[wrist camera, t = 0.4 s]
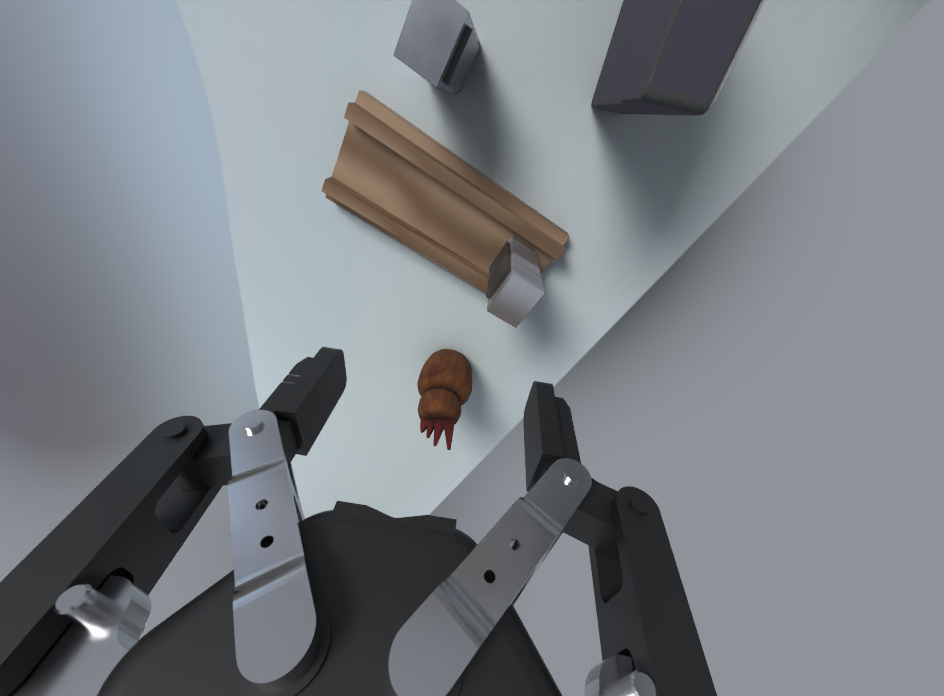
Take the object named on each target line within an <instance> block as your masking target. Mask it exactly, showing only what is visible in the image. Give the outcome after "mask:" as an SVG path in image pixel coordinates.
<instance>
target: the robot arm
mask: <svg viewBox="0 0 944 696" xmlns="http://www.w3.org/2000/svg"><path fill="white" fill-rule="evenodd" d="M346 380H347V377H346V369H345V361H344V353H343V351H342V350H340V349H333V348H327V347H322V348H321V349H320V350H319V351H318V353H317V354H316V355H315V357H314V358H311V357H307V358H305V359H304V360H302V361H301V362H299V363H297V364H296V365H295V366H294V368H293V369H292V370H291V371H290V372H289V375H287V376H286V377H285V378H284V380H283V382H281V383H280V385H279V386H278V387H277V388H276V389H275V391H274V392H273V393H272V394H271V396H270V397H269V398H268V399H267V400H266V402H265V403H264V404H263V405H262V406H261V408H260V409H259V410H255V411H251V412H247V413H245V414H243V415H241V416H240V417H238V418H237V419H236V420H235V421H234V422H233V423H230V424H221V425H212V426H204V425H203V423H202V421H201V420H200V419H199V418H197V417H194V416H181V417H176V418H173V419H170V420H168V421H166V422H164V423H162V424H160V425H159V426H158V427H156V428H155V429H154V430H153V431H152V432H151V433H150V434H149V435H148V436H147V437H146V438H145V439H144V440H143V441H142V442H141V443H140V444H139V445H138V446H137V447H136V448H135V449H134V450H133V451H132V452H131V453H130V454H129V455H128V456H127V457H126V458H125V459H124V460H123V461H122V462H121V463H120V464H119V465H118V466H117V467H116V468H115V469H114V470H113V471H112V472H111V473H110V474H109V475H108V476H107V477H106V478H105V479H104V480H103V481H102V482H101V483H100V484H99V485H98V486H97V487H96V488H95V489H94V490H93V491H92V492H91V493H90V494H89V495H88V496H87V497H86V498H85V499H84V500H83V501H82V502H81V503H80V504H79V505H78V506H77V507H76V508H75V509H74V510H73V511H72V512H71V513H70V514H69V515H68V516H67V517H66V518H65V519H64V520H63V521H62V522H61V523H60V524H59V525H58V526H57V527H56V528H55V529H54V530H53V531H52V532H51V533H49V535H47V537H46V538H44V540H42V542H40V543H39V544H38V545H37V546H36V548H34V549H33V551H32V552H30V553H29V555H27V556H26V558H25V559H24V560H22V561H21V562H20V563H19V564H18V565H17V566H16V567H15V568H14V569H13V570H12V571H11V572H10V573H9V574H8V575H7V576H6V577H5V578H4V579H3V581H1V582H0V696H562V694H561V692H560V690H559V689H558V687H557V685H556V683H555V681H554V679H553V678H552V676H551V674H550V672H549V670H548V668H547V667H546V665H545V663H544V661H543V659H542V658H541V656H540V654H539V652H538V650H537V649H536V647H535V645H534V643H533V641H532V639H531V638H530V636H529V634H528V632H527V630H526V628H525V627H524V625H523V623H522V621H521V619H520V617H519V616H518V614H517V612H516V610H515V609H514V604H515V603H516V601H517V600H518V598H519V597H520V595H521V594H522V592H523V591H524V589H525V588H526V586H527V585H528V583H529V582H530V580H531V579H532V577H533V576H534V574H535V573H536V571H537V570H538V568H539V567H540V565H541V564H542V562H543V561H544V559H545V558H546V556H547V555H548V554H549V552H550V550H551V549H552V547H553V546H554V545H555V543H556V542H557V540H558V539H559V537H560V536H561V534H562V533H563V532H564V533H566V534H568V535H570V536H572V537H574V538H576V539H578V540H580V541H581V542H583V543H585V544H587V545H589V553H590V562H591V570H592V577H593V586H594V594H595V602H596V611H597V618H598V627H599V634H600V643H601V651H602V660H603V661H602V662H601V663H599V664H598V665H596V666H595V667H593V668H592V669H591V671H590V672H589V673H588V675H587V678H586V682H585V696H717V694H716V691H715V688H714V684H713V681H712V678H711V675H710V672H709V668H708V665H707V662H706V659H705V656H704V652H703V649H702V646H701V643H700V639H699V636H698V633H697V629H696V627H695V623H694V620H693V617H692V613H691V610H690V607H689V604H688V600H687V597H686V594H685V591H684V588H683V584H682V581H681V578H680V575H679V571H678V568H677V565H676V562H675V558H674V555H673V552H672V549H671V546H670V542H669V539H668V536H667V533H666V530H665V526H664V523H663V520H662V517H661V513H660V511H659V508H658V506H657V504H656V503H655V501H654V500H653V499H652V498H651V497H650V496H649V495H648V494H647V493H645V492H644V491H642V490H640V489H638V488H635V487H623V488H621V489H620V490H619V491H616V490H614V489H611V488H609V487H607V486H605V485H603V484H601V483H599V482H597V481H595V480H594V479H593V478H591V476H590V474H589V472H588V471H587V469H586V468H585V467H584V466H583V465H582V464H581V461H580V456H579V451H578V446H577V441H576V436H575V431H574V426H573V421H572V416H571V411H570V408H569V406H568V405H567V403H566V402H565V400H564V399H563V398H558V397H555V396H554V389H553V385H552V384H549V383H543V382H537V381H534V382H533V385H532V388H531V391H530V394H529V397H528V400H527V403H526V406H525V411H524V443H525V466H526V489H527V492H528V493H527V494H526V495H525V497H523V498H522V497H520V498H519V499H518V500H517V501H516V502H515V503H514V504H513V505H512V506H511V507H510V508H509V510H508V511H507V512H506V513H505V514H504V515H503V516H502V517H501V519H500V520H499V521H498V522H497V523H496V524H495V525H494V527H493V528H492V529H491V530H490V531H489V533H488V534H487V535H486V536H485V537H484V538H483V539H482V540H481V541H480V543H479V544H478V545H477V544H476V542H474V540H472V539H471V538H470V537H469V536H468V535H466V534H465V533H463V532H462V531H460V530H457V529H455V528H456V519H449V518H443V517H437V516H430V515H423V516H413V517H404V518H393V517H391V516H388V515H386V514H384V513H382V512H380V511H378V510H375V509H373V508H371V507H369V506H367V505H361V504H354V503H348V502H342V501H337V502H336V505H335V507H334V509H333V510H330V511H325V512H321V513H318V514H315V515H313V516H310V517H308V518H306V519H305V518H304V515H303V511H302V508H301V504H300V499H299V495H298V491H297V486H296V482H295V478H294V473H293V469H292V465H291V461H292V459H293V458H294V456H295V454H299V455H305V456H307V454H308V452H309V450H310V449H311V447H312V445H313V444H314V442H315V440H316V438H317V437H318V435H319V433H320V431H321V430H322V428H323V426H324V425H325V423H326V421H327V419H328V418H329V416H330V414H331V412H332V411H333V409H334V407H335V406H336V404H337V402H338V400H339V399H340V397H341V395H342V393H343V392H344V389H345V386H346ZM223 485H228V492H229V508H230V522H231V536H232V550H233V564H234V570H233V571H231V572H230V573H229V574H227V575H226V576H225V577H223V578H222V579H220V580H219V581H218V582H216V583H215V584H214V585H212V586H211V587H209V588H208V589H207V590H206V591H204V592H203V593H201V594H200V595H199V596H197V597H196V598H195V599H193V600H192V601H190V602H189V603H188V604H186V605H185V606H183V607H182V608H181V609H179V610H178V611H177V612H175V613H174V614H172V615H171V616H170V617H168V618H167V619H166V620H164V621H163V622H161V623H160V624H159V625H157V626H156V627H155V628H153V629H152V630H151V631H149V632H148V633H147V634H146V635H144V636H143V637H142V638H141V639H140V640H139V638H140V636H141V634H142V633H143V631H144V628H145V623H146V621H147V619H148V617H149V614H150V611H151V600H150V598H149V596H148V595H149V593H150V592H151V590H152V589H153V587H154V586H155V584H156V583H157V581H158V580H159V579H160V577H161V576H162V574H163V573H164V571H165V569H166V568H167V567H168V565H169V564H170V562H171V561H172V559H173V558H174V556H175V555H176V553H177V552H178V551H179V549H180V548H181V546H182V545H183V543H184V542H185V540H186V539H187V537H188V536H189V534H190V533H191V531H192V530H193V529H194V527H195V526H196V524H197V523H198V521H199V519H200V518H201V517H202V515H203V514H204V512H205V511H206V509H207V508H208V506H209V505H210V504H211V502H212V501H213V499H214V498H215V496H216V495H217V493H218V492H219V490H220V489H221V487H222V486H223Z"/></svg>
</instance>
